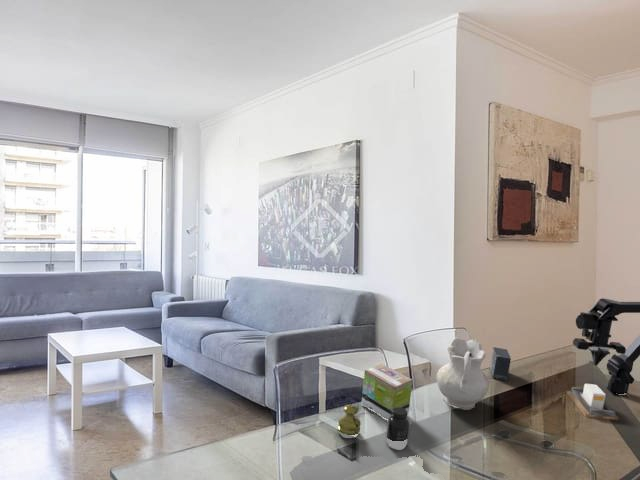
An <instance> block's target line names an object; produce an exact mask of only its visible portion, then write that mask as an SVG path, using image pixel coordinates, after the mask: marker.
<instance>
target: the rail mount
mask: <svg viewBox="0 0 640 480" xmlns="http://www.w3.org/2000/svg"><path fill="white" fill-rule="evenodd" d="M583 390H584V387H575V386H572V387H571V390H567V391H566V394H567V395H568V397H569V398H570V399H571V400H572V401H573V403H574V404H575V405H576V407H577V408H578V409H579V411H581V413H582V414H583V415H584V417H587V418H593V419H594V418H596V419H604V420H605V419H606V420H614V421H619V419H620V417H619V416H618V415H617V414H616V411H615V410H612V408H611V407H610V406H609V405H608V404H607V403H606V402H605V401H604V405H603V409H600V408H591V407H590V406H589V405H588V403H587V402H586V401H585V400H584V399H583V397H582V395H583Z"/></svg>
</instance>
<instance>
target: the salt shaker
mask: <svg viewBox="0 0 640 480" xmlns="http://www.w3.org/2000/svg"><path fill="white" fill-rule="evenodd" d="M343 412H344V413H345V414H344V415H342V416H340V417H339V419H338V425H337V432H338V431H339V432H341V433H343V434H347V435H355V434H358V433H359V432H360V433H361V424H362V423H361V419H359V417H357V416H356V414H357V413H359V408H358V407H357V406H356V405H354V404H347V405H344V407H343Z"/></svg>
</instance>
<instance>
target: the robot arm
mask: <svg viewBox="0 0 640 480" xmlns="http://www.w3.org/2000/svg"><path fill="white" fill-rule="evenodd" d="M630 313H631V314H633V313H634V314H640V301H618V300H614V299H608V298H604V297H603V298H600V299H599V300H598V301H597V302H596V304H594V305H593V307H591V308H590V309H589V310H588V312H583V311H581V312H580V314H579V315H578V316H577V317H576V318H575V325H576V328H578V329H579V330H582V331H581V336H582V337H584V338H576V337H575V338H574V339H573V341H572V345H573V346H574V347H575V348H577V349H578V350H585V351H587V350H589V351H590V353H591V356H592V362H593V366H598V365H599V364H600V362H602V360H603V359H604V358H605V357H607V356H608V355H610V354H611V352H610V350H615V352H616V353H617V354H618V355H617V354H615V353H613V355H612V356H611V358H609V359H608V360H607V363H606V370H607V371H608V374H609V375H610V379H609V380H608V383H607V384H608V385H607V386H606V387H605V388H606V389H607V390H608V391H609V392H610V393H611V394H612V395H613V396H618V394H624V393H627V394H628V393H629V392H628V391H629V389H630V388H629V387H630V384H631V385H633V383H634V382H635V378H634V377H633V375H632V374H631V372H632V371H633V366H634V362H636V360H637V359H638V358H639V357H640V334H639V335H638V336H637V337H636V338H635V339H634V340H633V342H632V343H631V344H629V346H628V347H627V348H626V346H625V345H623V344H621V342H617V341H610V342H609V340H610V338H611V337H612V335H611V328H612V324H613V322H618V320H619V319H618V318H617V317H616V316H619V315H621V314H630ZM590 330H591V331H590ZM587 340H589V341H587ZM616 393H617V394H616Z"/></svg>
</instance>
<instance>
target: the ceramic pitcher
mask: <svg viewBox="0 0 640 480" xmlns="http://www.w3.org/2000/svg"><path fill="white" fill-rule="evenodd" d="M447 351H448V354H449V361H448V363H446V364H444V365H443V366H442V365H441V367H440V368H439V370H438V371H437V373H436V383H437V384H436V385H437V386H438V387H437V388H438V390H439V391H440V393H441V394H442V396H444V399H443V401H444V402H447V403H446V404H448V405H449V404H450V405H453V406H456V407H472V406H474V405H475V404H478V403H479V402H481V401H483V399H484V398H485V397H486V396H487V394H488V392H489V389H490V380H489V377H488V376H487V374H486V373H485V372H484V371H483V370H482V369H481V365H482V363H483V361H484V360H485V358H486V356H487V354H486V352H485V351H484V350H483V349H482V343H480V341H479V340H478V339H477V338H476V339H475V338H470V340H468V341H467V340H465V339H463V338H461V337H458V336H457V337H455V338H454V339H452V341H451V342H450V346H448V347H447ZM450 405H449V406H450Z"/></svg>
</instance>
